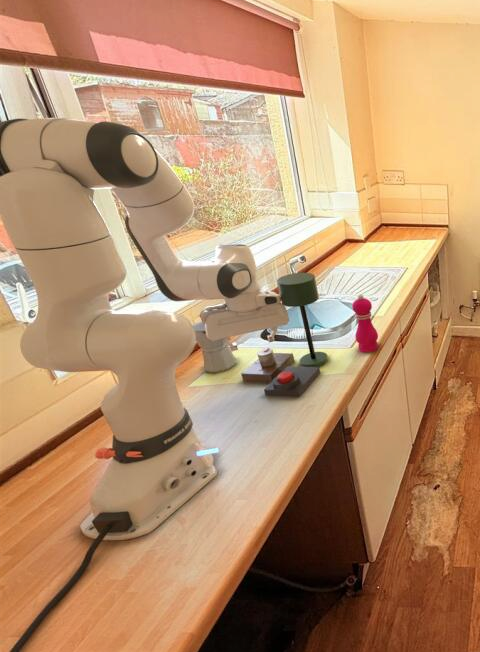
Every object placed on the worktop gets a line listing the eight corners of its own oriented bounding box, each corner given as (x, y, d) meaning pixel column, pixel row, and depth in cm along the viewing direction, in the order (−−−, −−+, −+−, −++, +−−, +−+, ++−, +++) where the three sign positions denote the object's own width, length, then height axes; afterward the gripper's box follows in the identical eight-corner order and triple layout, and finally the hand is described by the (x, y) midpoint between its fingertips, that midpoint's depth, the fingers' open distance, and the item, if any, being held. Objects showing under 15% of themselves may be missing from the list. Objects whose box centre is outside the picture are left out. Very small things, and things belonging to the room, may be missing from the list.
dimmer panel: (272, 383, 118) (270, 374, 117) (243, 382, 119) (240, 373, 117) (294, 361, 129) (292, 353, 128) (267, 360, 130) (265, 352, 128)
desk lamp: (322, 371, 124) (303, 285, 112) (290, 370, 125) (269, 283, 113) (336, 354, 133) (320, 273, 122) (307, 353, 134) (288, 272, 122)
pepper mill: (352, 350, 136) (343, 296, 128) (368, 341, 142) (360, 289, 134) (368, 355, 133) (359, 300, 125) (383, 346, 139) (376, 293, 131)
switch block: (299, 397, 112) (296, 386, 111) (265, 396, 113) (261, 384, 111) (320, 373, 123) (318, 362, 122) (289, 372, 124) (286, 361, 122)
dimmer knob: (270, 366, 121) (267, 354, 119) (257, 366, 121) (254, 354, 119) (278, 359, 124) (274, 347, 123) (265, 359, 125) (262, 347, 123)
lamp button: (288, 383, 112) (287, 378, 111) (276, 383, 112) (274, 378, 112) (295, 376, 115) (294, 371, 115) (283, 375, 116) (282, 370, 115)
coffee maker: (238, 370, 124) (221, 318, 117) (203, 379, 119) (184, 326, 112) (236, 349, 135) (221, 301, 128) (204, 357, 131) (187, 307, 123)
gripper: (200, 311, 103) (212, 359, 108) (286, 296, 117) (294, 339, 121) (196, 305, 108) (208, 352, 112) (280, 291, 121) (287, 333, 125)
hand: (253, 345), depth 117 cm, fingers open, 8 cm apart
